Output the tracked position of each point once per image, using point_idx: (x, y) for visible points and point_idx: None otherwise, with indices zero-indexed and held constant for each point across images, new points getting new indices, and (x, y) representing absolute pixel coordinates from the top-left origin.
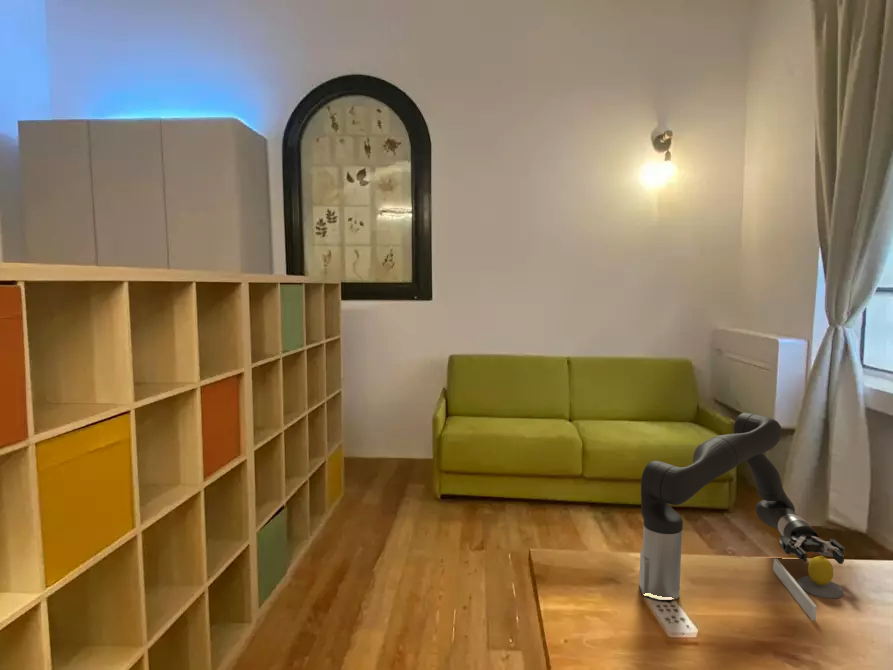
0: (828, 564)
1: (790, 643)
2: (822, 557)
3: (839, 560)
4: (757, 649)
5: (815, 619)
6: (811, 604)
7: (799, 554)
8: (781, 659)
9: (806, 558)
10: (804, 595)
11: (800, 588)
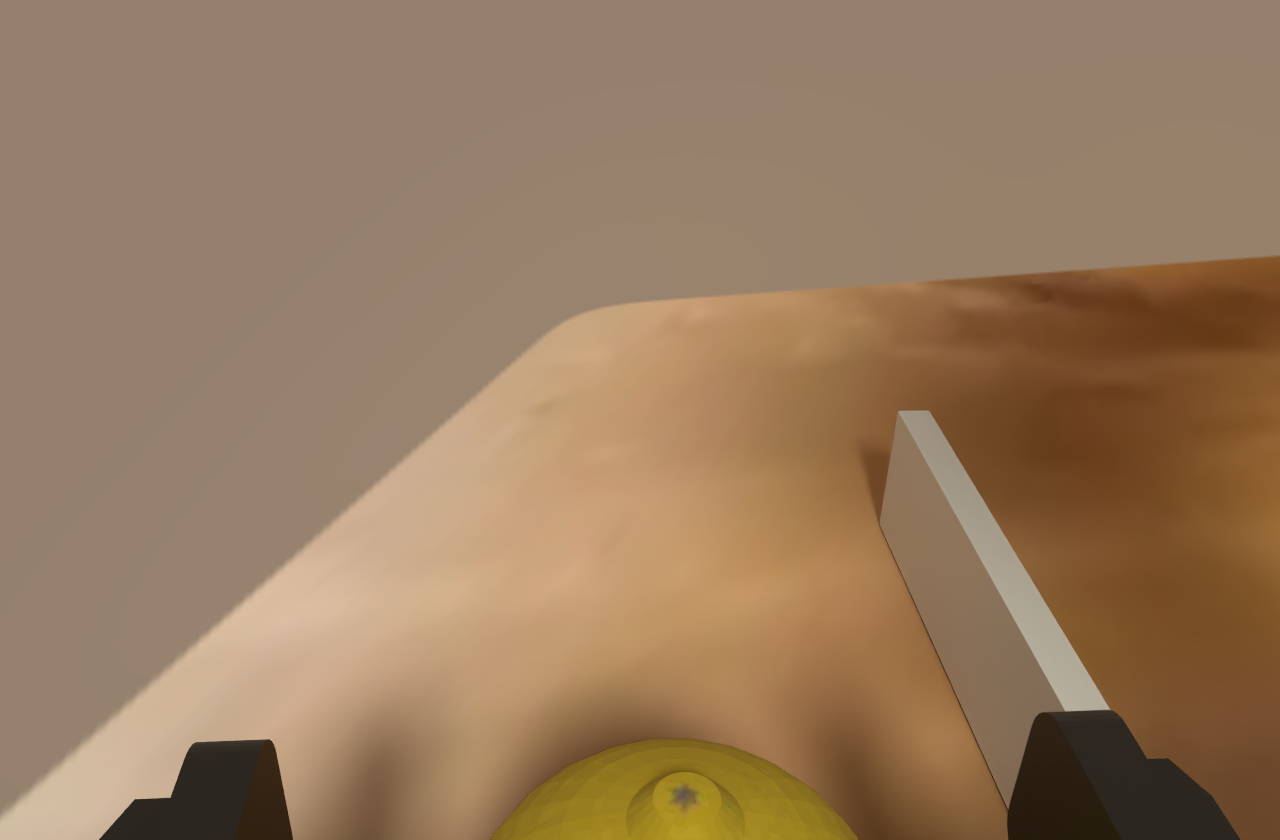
0: (580, 763)
1: (1062, 350)
2: (678, 769)
3: (278, 833)
4: (1226, 308)
5: (884, 514)
6: (939, 429)
7: (1197, 806)
8: (1098, 279)
9: (1023, 770)
10: (995, 523)
11: (1036, 626)
